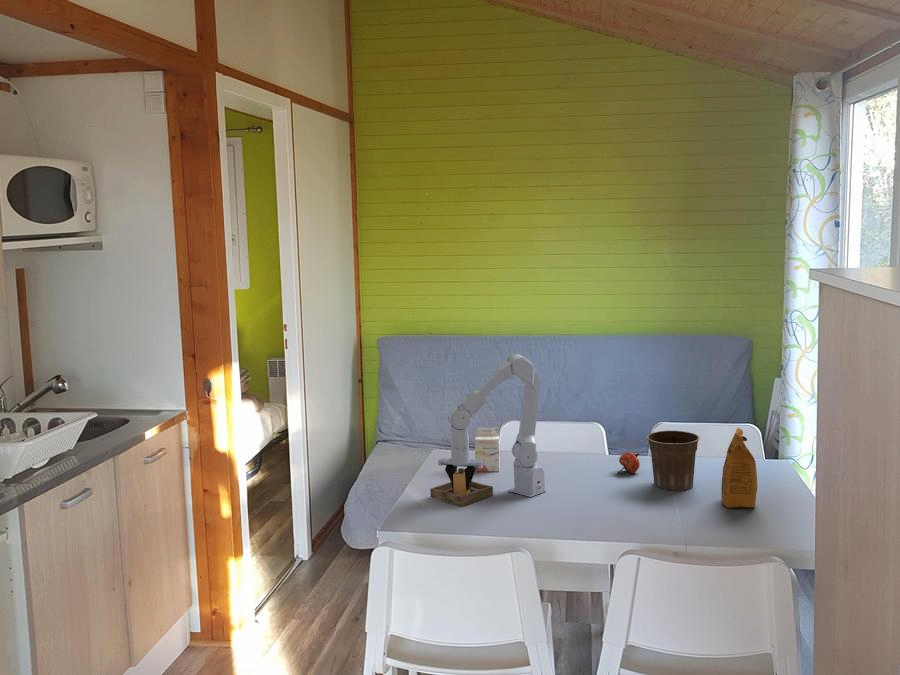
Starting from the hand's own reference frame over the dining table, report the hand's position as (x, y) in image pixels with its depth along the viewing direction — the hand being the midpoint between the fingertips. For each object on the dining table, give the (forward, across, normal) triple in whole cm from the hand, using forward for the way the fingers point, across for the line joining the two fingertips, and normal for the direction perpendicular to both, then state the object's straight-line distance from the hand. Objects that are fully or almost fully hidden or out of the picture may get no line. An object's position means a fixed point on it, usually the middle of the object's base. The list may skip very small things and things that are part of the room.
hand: (461, 488), depth 270 cm
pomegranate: (+3, -46, -38) cm, 60 cm away
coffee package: (+3, -83, -15) cm, 84 cm away
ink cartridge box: (+3, +1, -30) cm, 31 cm away
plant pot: (+3, -62, -27) cm, 68 cm away
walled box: (+3, 0, 0) cm, 3 cm away
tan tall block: (+2, 0, 0) cm, 2 cm away
